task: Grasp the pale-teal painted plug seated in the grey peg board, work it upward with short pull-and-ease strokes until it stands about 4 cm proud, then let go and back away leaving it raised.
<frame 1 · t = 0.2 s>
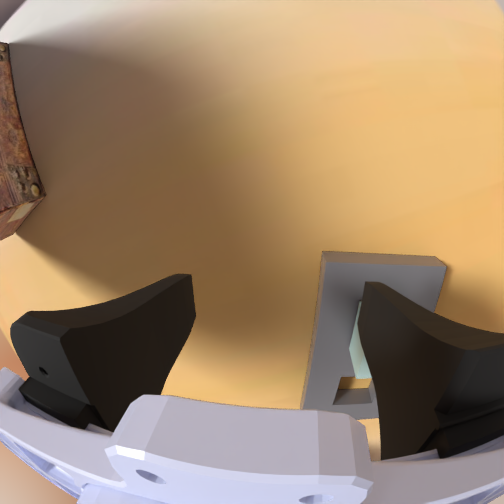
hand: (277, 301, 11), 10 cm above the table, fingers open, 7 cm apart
grey peg board: (363, 345, 23), on the table
book: (3, 130, 20), on the table
plug: (382, 329, 19), point 3 cm above the table, slide at 0.0 cm
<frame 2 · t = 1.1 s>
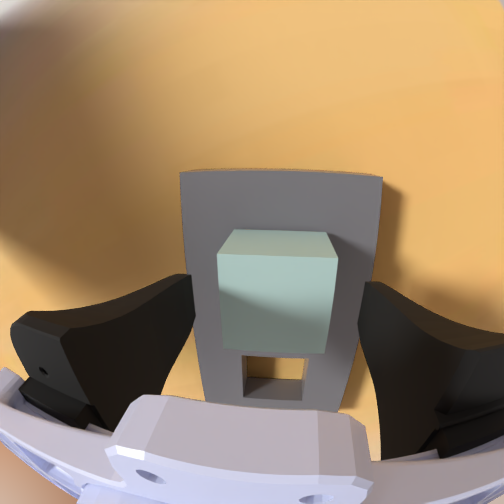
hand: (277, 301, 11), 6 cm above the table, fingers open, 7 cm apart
grey peg board: (278, 313, 18), on the table
plug: (278, 277, 13), point 3 cm above the table, slide at 0.0 cm
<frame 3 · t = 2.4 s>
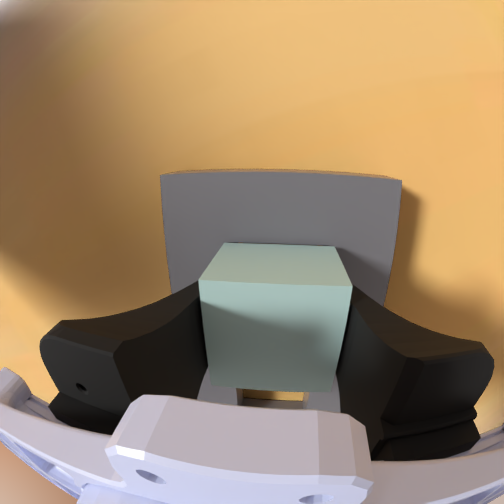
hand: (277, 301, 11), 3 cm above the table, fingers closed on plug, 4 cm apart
grey peg board: (277, 333, 15), on the table
plug: (277, 299, 11), point 3 cm above the table, slide at 0.0 cm, touching gripper
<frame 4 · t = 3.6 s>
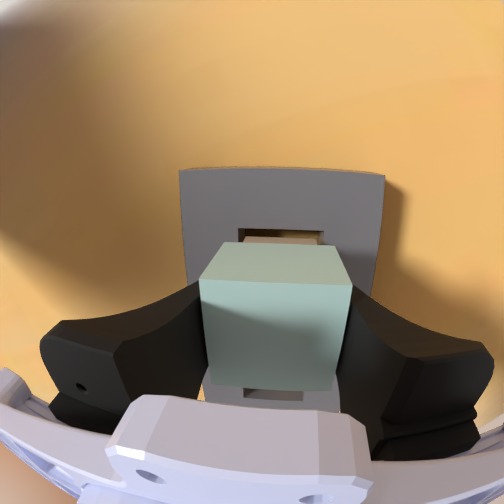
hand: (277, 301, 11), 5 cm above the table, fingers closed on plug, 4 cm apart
grey peg board: (278, 313, 18), on the table
plug: (277, 298, 11), point 5 cm above the table, slide at 2.2 cm, touching gripper
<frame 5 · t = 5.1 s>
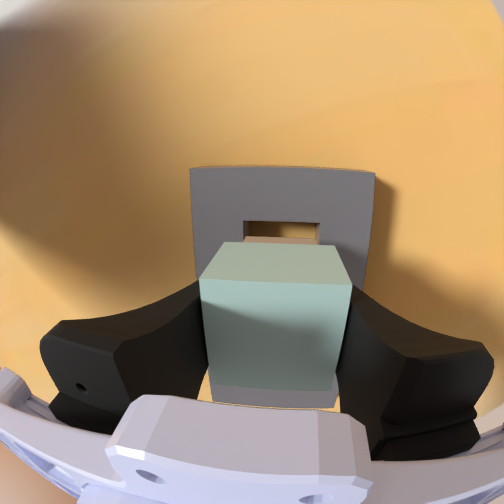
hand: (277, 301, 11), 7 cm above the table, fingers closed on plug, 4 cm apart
grey peg board: (279, 300, 19), on the table
plug: (277, 298, 11), point 7 cm above the table, slide at 3.7 cm, touching gripper
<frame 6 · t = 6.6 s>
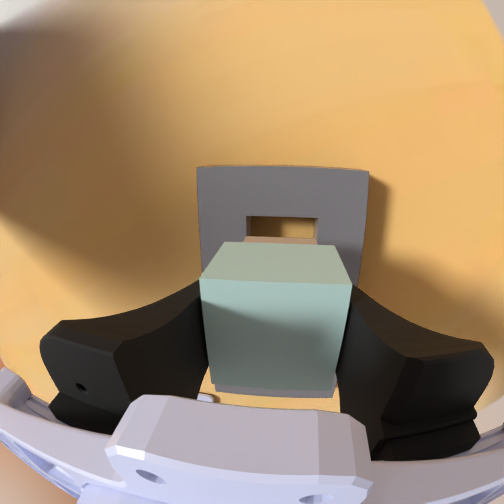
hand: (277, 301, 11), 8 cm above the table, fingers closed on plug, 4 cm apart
grey peg board: (280, 292, 20), on the table
plug: (277, 298, 11), point 8 cm above the table, slide at 4.9 cm, touching gripper
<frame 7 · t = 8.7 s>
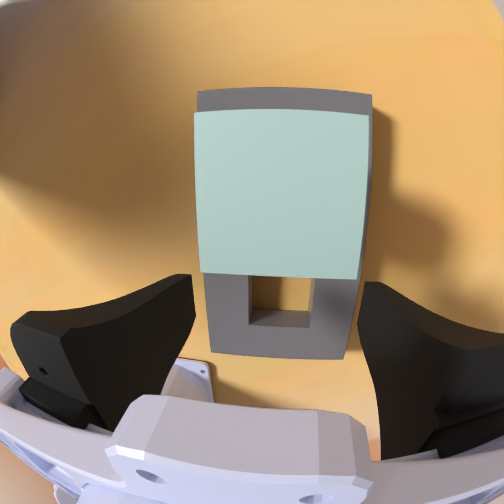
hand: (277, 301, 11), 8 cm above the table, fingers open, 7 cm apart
grey peg board: (283, 231, 18), on the table
plug: (282, 183, 10), point 8 cm above the table, slide at 4.9 cm
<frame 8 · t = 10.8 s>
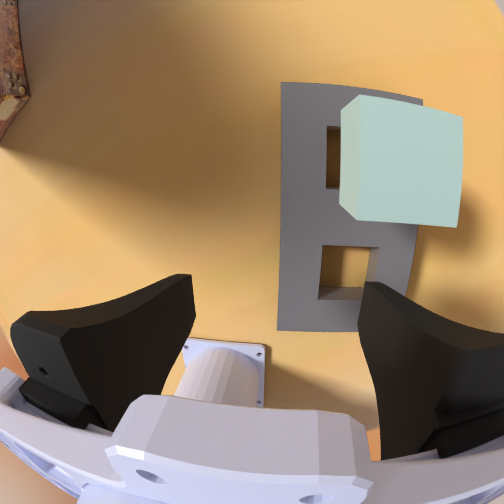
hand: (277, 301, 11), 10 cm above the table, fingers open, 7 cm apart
grey peg board: (347, 212, 20), on the table
book: (3, 59, 17), on the table
plug: (388, 161, 11), point 8 cm above the table, slide at 4.9 cm
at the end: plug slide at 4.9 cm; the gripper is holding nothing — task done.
